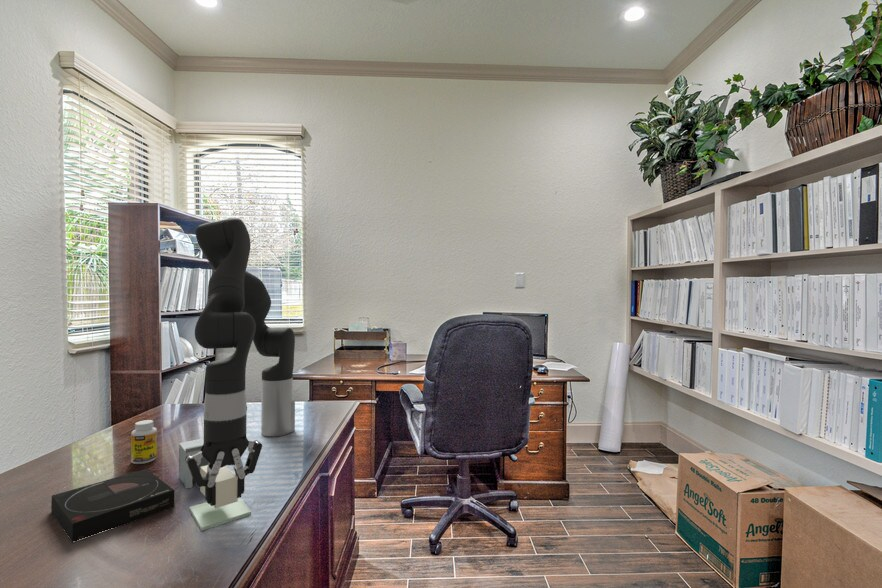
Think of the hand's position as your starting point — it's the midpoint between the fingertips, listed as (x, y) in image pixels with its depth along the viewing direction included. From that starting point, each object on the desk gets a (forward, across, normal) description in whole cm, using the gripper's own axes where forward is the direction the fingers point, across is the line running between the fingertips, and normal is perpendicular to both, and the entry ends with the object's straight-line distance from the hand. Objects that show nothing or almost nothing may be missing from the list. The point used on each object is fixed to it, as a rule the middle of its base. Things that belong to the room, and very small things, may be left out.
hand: (225, 499), depth 84 cm
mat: (+4, 0, -4) cm, 6 cm away
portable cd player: (+5, +16, -19) cm, 26 cm away
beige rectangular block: (+1, 0, -4) cm, 4 cm away
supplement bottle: (+4, +8, -45) cm, 46 cm away
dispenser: (+4, -1, -24) cm, 24 cm away
